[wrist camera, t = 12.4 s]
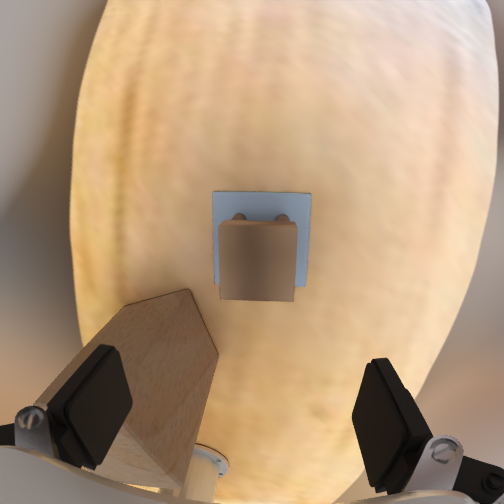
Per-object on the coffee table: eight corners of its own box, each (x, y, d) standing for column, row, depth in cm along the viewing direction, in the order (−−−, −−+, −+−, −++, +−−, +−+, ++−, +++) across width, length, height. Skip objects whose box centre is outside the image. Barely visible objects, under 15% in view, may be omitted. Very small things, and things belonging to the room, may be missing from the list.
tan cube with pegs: (290, 213, 29) (297, 228, 22) (288, 269, 31) (293, 301, 23) (231, 212, 30) (218, 226, 22) (232, 267, 31) (219, 299, 23)
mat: (305, 284, 32) (305, 286, 31) (215, 281, 32) (214, 283, 32) (310, 193, 29) (311, 194, 29) (213, 191, 30) (212, 191, 29)
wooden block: (122, 305, 34) (28, 405, 15) (190, 286, 33) (110, 411, 14) (155, 367, 37) (96, 479, 17) (220, 355, 35) (185, 491, 16)
